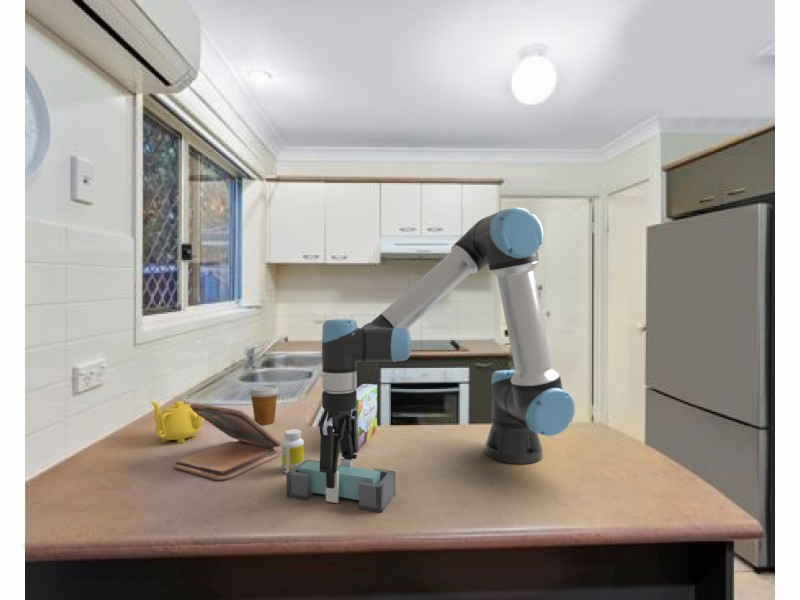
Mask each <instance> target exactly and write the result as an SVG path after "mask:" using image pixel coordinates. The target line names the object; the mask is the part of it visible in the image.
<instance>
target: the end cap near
mask: <svg viewBox="0 0 800 600" xmlns="http://www.w3.org/2000/svg"><path fill="white" fill-rule="evenodd" d="M372 470H375V471H380V482H379V484H374V483H367V482H360V483H359V500H358V509H359V510H362V511H363V510H364V511H369V512H370V511H371V512H376V513H383V511H385V509H386V508H387V506H388V505H389V504H390V503H391V501H392V499H394V497H395V496H396V471H395V470H391V469H390V470H388V469H381V468H373V469H372Z"/></svg>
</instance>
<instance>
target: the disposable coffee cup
mask: <svg viewBox="0 0 800 600" xmlns="http://www.w3.org/2000/svg"><path fill="white" fill-rule="evenodd" d="M249 394H250V396H251V403H252V409H253V410H252V411H253V415H254V421H255V422H257V423H258V424H259V425H260V426H266V425H271V424H274V423H275V420H276V419H275V418H276V408H277V400H278V399H277V398H278V394H279V389H278V386H276V385H271V384H269V385H266V384H265V385H257V386H253V387H252V388H251V389H250V392H249Z"/></svg>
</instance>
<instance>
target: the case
mask: <svg viewBox="0 0 800 600" xmlns="http://www.w3.org/2000/svg"><path fill="white" fill-rule="evenodd" d="M190 404H191V405H190V407H191V409H192V410H193V411H194V412H195V413H197V414H198V415H199V416H201V417H202V418H204V421H206V422H208V423H209V424H211V425H212V426H213V427H215V428H217V429H218V430H219V431H221V432H223V433H224V434H225V435H226V436H228V437H230V438H232V439H235V440H237V441H227V442H223V443H220V444H218V445H215V446H212V447H210V448H207V449H204V450H201V451H198V452H196V453H194V454H190V455H188V456H185V457H182V458H180V459H179V458H178V460H177V461H175V462H174V463H173V465H172V466H173V467H172V468H174V469H175V470H179V471H182V472H186V473H190V474H194V475H197V476H200V477H204V478H206V479H211V480H213V481H227V480H231V479H232V478H235V477H237V476H239V475H241V474H244V473H245V472H248V471H251V470H252V469H254V468H256V467H258V466H261V465H263V464H265V463H267V462H269V461H271V460H273V459H275V458H278V457H279V455H280V452H279V451H278V450H275V449H274V448H278V447H279V448H280V447H282V442H281V441H280V440H278V438H277V437H275V436H274V435H272V434H271V433H270V432H269V431H267V430H266V429H265V428H264V427H263V426H262V425H259V424H258V423H257V422H255V419H253V418H252V417H251V416H249V415H248V414H247V413H245V412H244V411H242V410H240V409H236V408H229V407H222V406H221V407H220V406H214V405H208V404H200V403H199V404H198V403H190Z"/></svg>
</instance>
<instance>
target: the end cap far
mask: <svg viewBox="0 0 800 600" xmlns="http://www.w3.org/2000/svg"><path fill="white" fill-rule="evenodd" d="M308 461H309V462H316V463H320V460H313V459H304V462H302V463H301V464H299V465H298V466H296V467H295V468H293V469H292V470H291V471H289V472H288V473H285V474H286V476H285V477H286V497H287V498H290V499H291V498H293V499H298V500H304V501H308V500H309V499H310V498H311V497H312V496H314V494H315V493H313V492H309V474H305V473H299V467H301V466H302V465H303V464H305V463H306V462H308Z"/></svg>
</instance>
